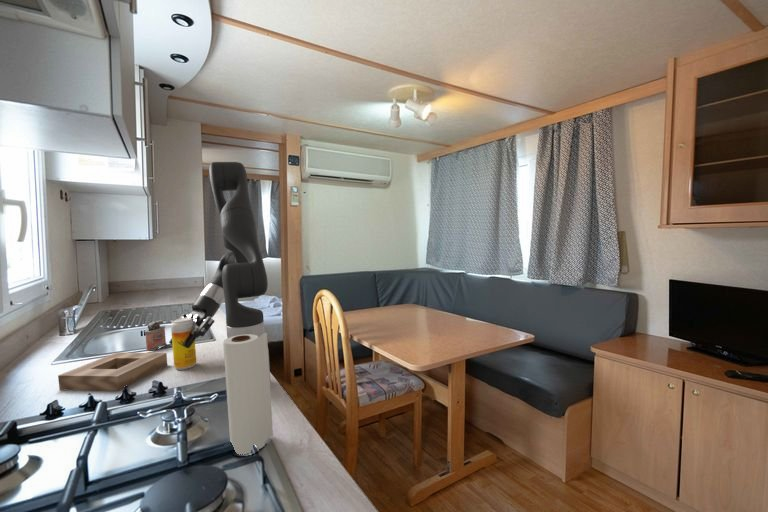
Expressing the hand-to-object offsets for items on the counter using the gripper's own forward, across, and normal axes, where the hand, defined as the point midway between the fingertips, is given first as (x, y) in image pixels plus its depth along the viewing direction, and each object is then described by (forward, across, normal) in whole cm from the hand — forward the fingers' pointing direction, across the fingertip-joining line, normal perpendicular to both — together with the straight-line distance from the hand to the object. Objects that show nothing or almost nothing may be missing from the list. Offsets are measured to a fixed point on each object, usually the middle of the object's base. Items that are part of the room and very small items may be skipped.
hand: (178, 345), depth 108 cm
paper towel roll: (+20, +53, -9) cm, 57 cm away
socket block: (+13, -12, -3) cm, 18 cm away
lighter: (-1, -28, +12) cm, 31 cm away
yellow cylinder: (+4, 0, +6) cm, 8 cm away
